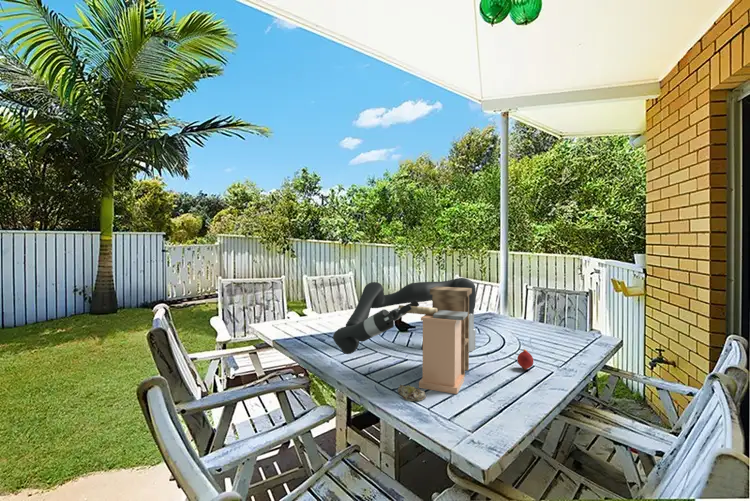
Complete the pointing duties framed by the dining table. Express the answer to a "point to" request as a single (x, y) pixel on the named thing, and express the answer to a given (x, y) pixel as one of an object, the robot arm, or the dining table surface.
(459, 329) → the terracotta pedestal
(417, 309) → the trowel
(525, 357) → the onion
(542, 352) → the dining table surface
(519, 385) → the dining table surface
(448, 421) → the dining table surface
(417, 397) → the mineral rock
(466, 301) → the plant stand
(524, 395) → the dining table surface
